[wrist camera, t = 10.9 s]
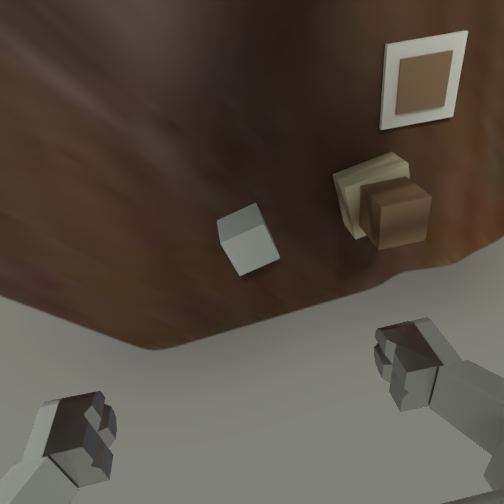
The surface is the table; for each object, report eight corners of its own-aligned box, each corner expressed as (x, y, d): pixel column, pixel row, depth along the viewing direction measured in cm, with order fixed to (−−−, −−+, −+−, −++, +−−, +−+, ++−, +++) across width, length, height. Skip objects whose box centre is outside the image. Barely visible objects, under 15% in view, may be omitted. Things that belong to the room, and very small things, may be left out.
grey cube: (216, 220, 43) (220, 243, 39) (255, 202, 42) (263, 223, 38) (234, 251, 46) (239, 276, 42) (271, 235, 45) (280, 258, 41)
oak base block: (331, 173, 42) (344, 187, 39) (390, 150, 42) (408, 163, 38) (343, 222, 46) (355, 239, 43) (396, 202, 46) (413, 217, 42)
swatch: (384, 44, 35) (388, 45, 34) (464, 30, 36) (470, 31, 35) (379, 128, 40) (382, 130, 39) (450, 115, 40) (454, 117, 39)
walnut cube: (360, 185, 39) (381, 207, 35) (405, 176, 39) (431, 196, 35) (359, 225, 42) (378, 250, 38) (401, 216, 42) (425, 240, 38)
